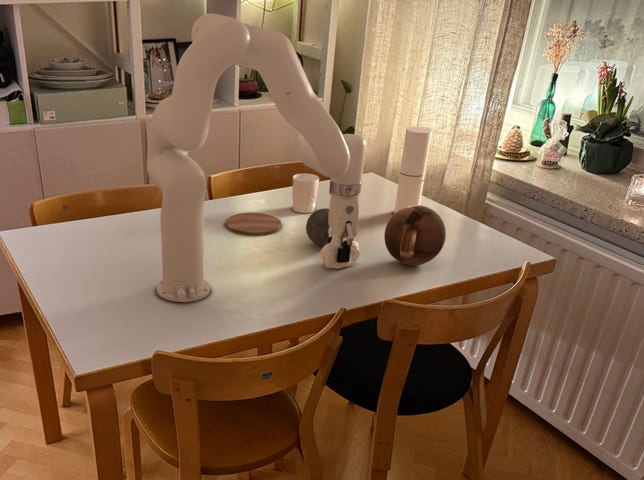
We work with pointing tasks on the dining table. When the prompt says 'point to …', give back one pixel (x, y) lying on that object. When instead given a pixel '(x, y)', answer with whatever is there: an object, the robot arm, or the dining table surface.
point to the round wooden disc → (253, 224)
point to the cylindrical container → (413, 167)
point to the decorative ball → (318, 227)
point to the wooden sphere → (415, 235)
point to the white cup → (304, 192)
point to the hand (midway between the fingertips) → (338, 255)
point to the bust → (331, 250)
